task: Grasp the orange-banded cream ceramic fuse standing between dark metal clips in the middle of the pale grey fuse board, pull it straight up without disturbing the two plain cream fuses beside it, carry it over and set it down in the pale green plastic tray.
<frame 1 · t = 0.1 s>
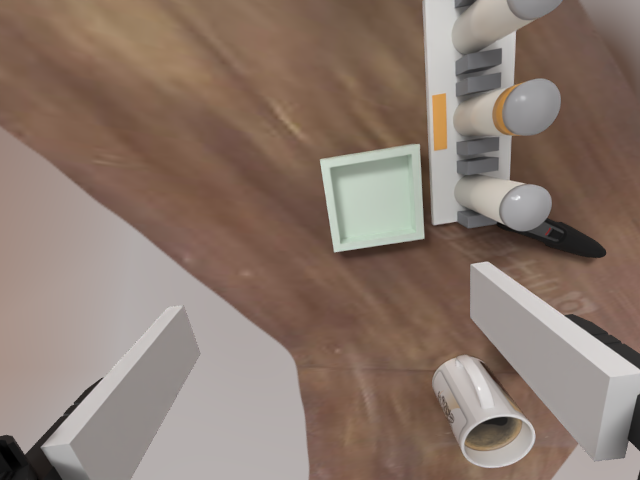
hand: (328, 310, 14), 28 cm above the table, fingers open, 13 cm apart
fuse 1: (470, 190, 39), point 1 cm above the table, touching fuse board
marked fuse: (470, 117, 36), point 1 cm above the table, touching fuse board
electric trimmer: (541, 227, 41), on the table, touching fuse board
mug: (461, 373, 50), on the table
tray: (370, 197, 40), on the table
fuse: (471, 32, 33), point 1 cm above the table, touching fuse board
fuse board: (467, 118, 37), on the table
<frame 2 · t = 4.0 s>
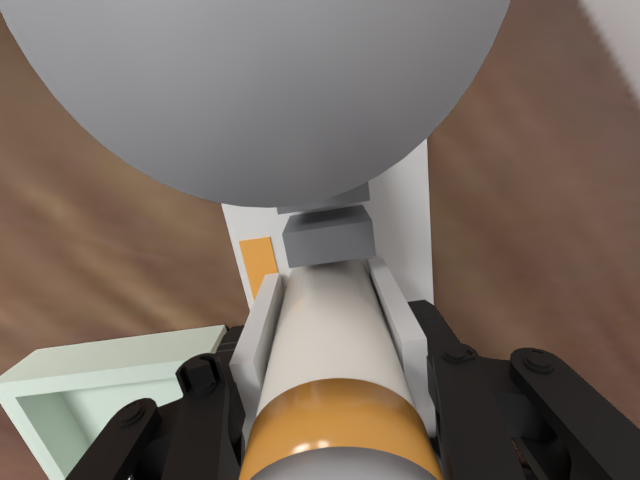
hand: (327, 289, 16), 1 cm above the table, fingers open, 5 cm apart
marked fuse: (329, 286, 16), point 1 cm above the table, touching gripper
electric trimmer: (510, 464, 21), on the table, touching fuse board
tray: (161, 411, 20), on the table
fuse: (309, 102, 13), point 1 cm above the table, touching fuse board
fuse board: (336, 278, 17), on the table
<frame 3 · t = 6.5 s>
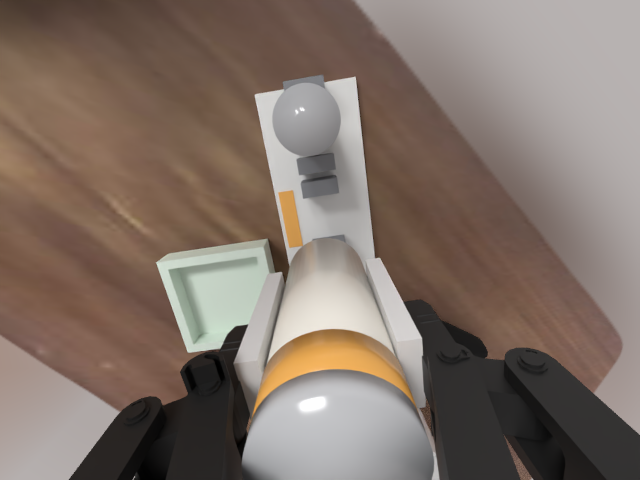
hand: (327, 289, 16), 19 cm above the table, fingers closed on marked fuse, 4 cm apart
marked fuse: (326, 273, 18), point 17 cm above the table, touching gripper
electric trimmer: (421, 322, 38), on the table, touching fuse board
tray: (230, 291, 37), on the table
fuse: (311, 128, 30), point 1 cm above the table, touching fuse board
fuse board: (324, 212, 34), on the table
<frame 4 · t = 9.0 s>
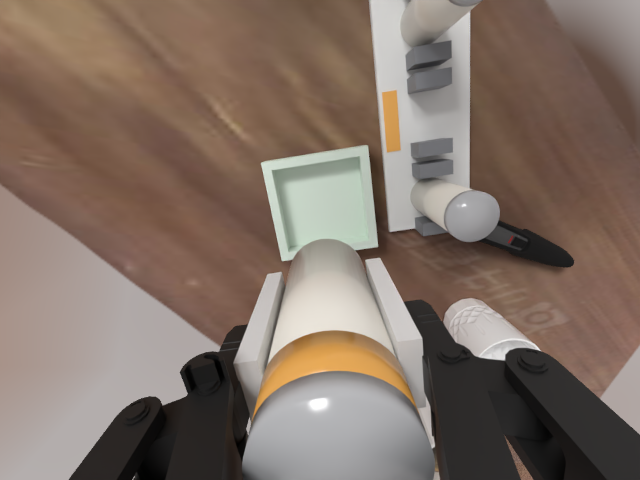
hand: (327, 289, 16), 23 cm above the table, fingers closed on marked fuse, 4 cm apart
fuse 1: (428, 195, 36), point 1 cm above the table, touching fuse board
white cup: (465, 317, 43), on the table
marked fuse: (326, 274, 18), point 21 cm above the table, touching gripper
electric trimmer: (506, 234, 39), on the table, touching fuse board
mug: (427, 387, 47), on the table
tray: (322, 202, 37), on the table
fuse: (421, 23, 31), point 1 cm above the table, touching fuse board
fuse board: (422, 117, 34), on the table
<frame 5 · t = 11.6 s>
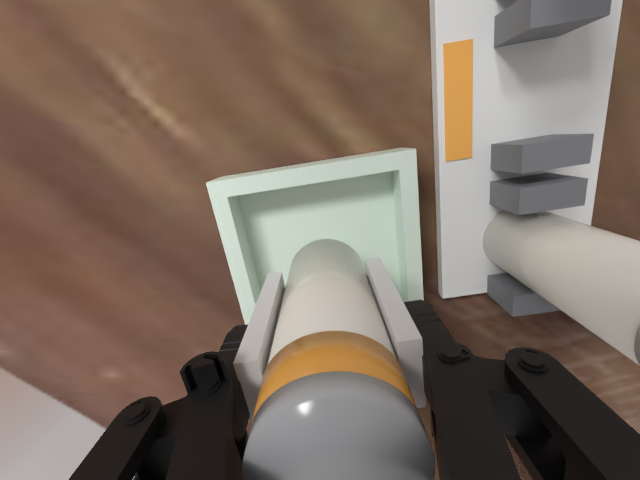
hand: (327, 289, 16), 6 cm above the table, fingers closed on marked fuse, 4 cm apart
fuse 1: (515, 237, 20), point 1 cm above the table, touching fuse board
marked fuse: (326, 274, 18), point 4 cm above the table, touching gripper
tray: (324, 247, 21), on the table
fuse board: (514, 94, 18), on the table
when the fingers open (2 cm above the table, at t = 13.2 s): marked fuse stays where it is, resting on tray.
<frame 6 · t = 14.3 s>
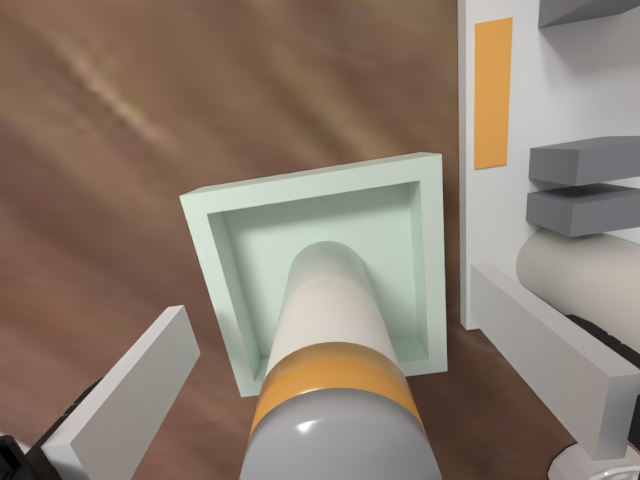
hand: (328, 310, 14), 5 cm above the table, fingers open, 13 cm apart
fuse 1: (555, 259, 17), point 1 cm above the table, touching fuse board
white cup: (587, 464, 24), on the table
marked fuse: (327, 276, 17), point 1 cm above the table, touching tray
tray: (326, 270, 18), on the table
fuse board: (559, 88, 15), on the table
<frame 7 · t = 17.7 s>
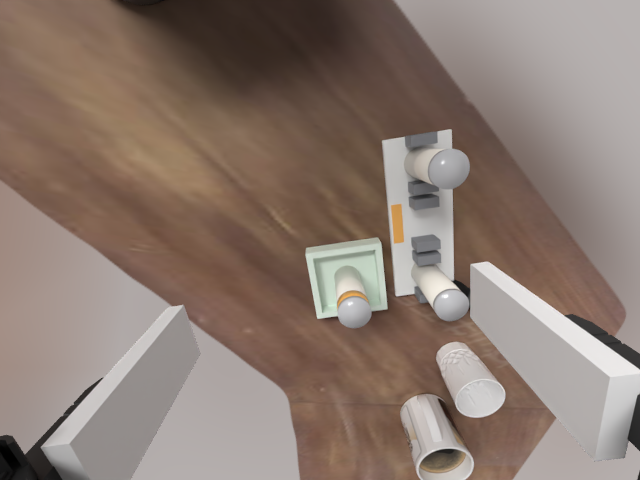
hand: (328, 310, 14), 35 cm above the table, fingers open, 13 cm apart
fuse 1: (423, 271, 50), point 1 cm above the table, touching fuse board
white cup: (452, 355, 57), on the table
marked fuse: (347, 277, 50), point 1 cm above the table, touching tray
electric trimmer: (481, 297, 52), on the table, touching fuse board
mug: (424, 406, 61), on the table
tray: (346, 275, 51), on the table
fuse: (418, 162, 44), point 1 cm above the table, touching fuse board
fuse board: (419, 219, 48), on the table
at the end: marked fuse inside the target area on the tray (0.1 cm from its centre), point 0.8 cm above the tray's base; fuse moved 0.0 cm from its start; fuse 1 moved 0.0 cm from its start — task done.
